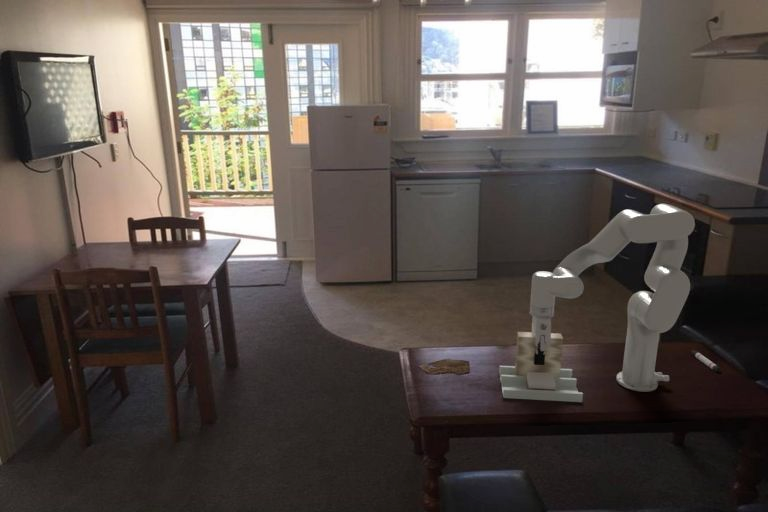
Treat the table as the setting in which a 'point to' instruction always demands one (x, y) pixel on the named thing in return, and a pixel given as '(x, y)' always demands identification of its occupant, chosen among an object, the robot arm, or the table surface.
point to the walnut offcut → (537, 388)
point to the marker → (706, 361)
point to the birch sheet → (527, 353)
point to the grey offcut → (541, 380)
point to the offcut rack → (517, 389)
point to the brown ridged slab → (447, 366)
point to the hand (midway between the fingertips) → (537, 360)
